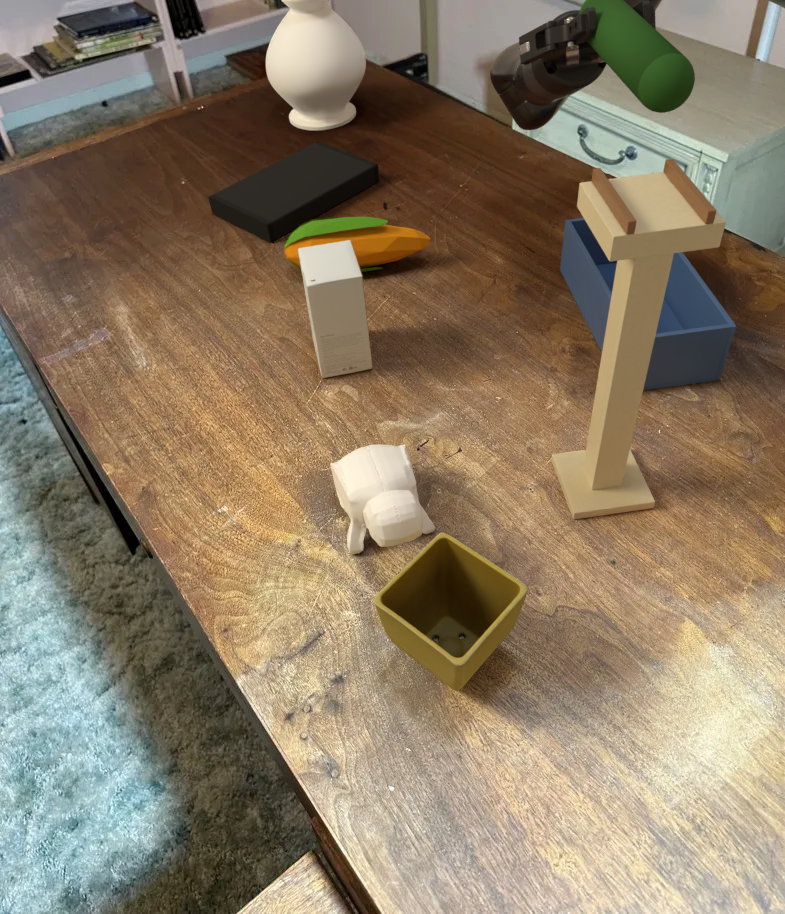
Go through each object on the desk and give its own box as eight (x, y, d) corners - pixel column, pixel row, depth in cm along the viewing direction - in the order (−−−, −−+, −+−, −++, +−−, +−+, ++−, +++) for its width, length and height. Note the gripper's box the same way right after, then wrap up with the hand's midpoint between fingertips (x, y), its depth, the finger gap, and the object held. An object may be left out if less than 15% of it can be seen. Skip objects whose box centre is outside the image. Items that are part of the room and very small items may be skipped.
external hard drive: (212, 213, 120) (207, 196, 118) (319, 158, 131) (317, 140, 128) (271, 243, 113) (267, 224, 110) (379, 181, 123) (378, 163, 121)
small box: (373, 369, 91) (363, 276, 82) (321, 379, 91) (304, 286, 81) (362, 329, 97) (351, 238, 87) (312, 338, 96) (296, 247, 87)
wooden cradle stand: (623, 443, 80) (684, 156, 58) (653, 508, 74) (736, 216, 52) (548, 453, 80) (580, 169, 57) (572, 519, 74) (620, 231, 51)
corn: (280, 208, 104) (427, 196, 103) (290, 255, 110) (429, 244, 109) (277, 240, 99) (431, 227, 99) (288, 287, 105) (433, 276, 104)
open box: (641, 259, 103) (651, 208, 98) (719, 380, 86) (736, 326, 80) (559, 270, 103) (565, 219, 97) (622, 393, 85) (632, 340, 80)
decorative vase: (335, 144, 134) (314, -18, 116) (256, 127, 141) (225, -28, 123) (388, 104, 144) (377, -50, 126) (311, 90, 151) (291, -58, 133)
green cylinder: (569, 37, 75) (574, -13, 72) (613, 33, 75) (620, -18, 72) (643, 124, 61) (653, 66, 58) (696, 118, 61) (710, 60, 58)
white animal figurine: (334, 514, 80) (363, 591, 67) (317, 441, 76) (344, 508, 63) (411, 493, 81) (456, 564, 68) (398, 420, 78) (442, 481, 64)
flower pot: (524, 646, 65) (531, 586, 58) (460, 722, 61) (460, 667, 54) (444, 590, 69) (442, 529, 63) (379, 658, 65) (369, 599, 59)
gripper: (627, 87, 86) (697, 53, 69) (502, 103, 85) (543, 72, 69) (625, 13, 84) (697, -41, 67) (496, 28, 83) (537, -22, 67)
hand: (619, 17), depth 68 cm, fingers closed on green cylinder, 4 cm apart
